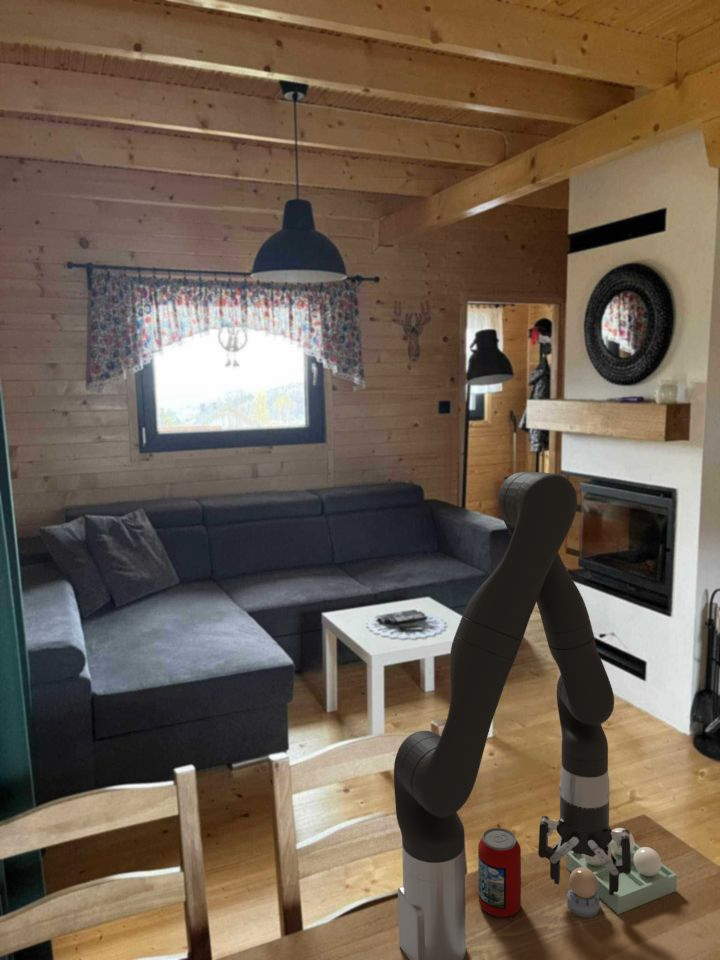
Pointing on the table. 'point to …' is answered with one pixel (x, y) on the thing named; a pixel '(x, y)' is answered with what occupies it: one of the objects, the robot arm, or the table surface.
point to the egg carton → (627, 883)
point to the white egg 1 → (592, 860)
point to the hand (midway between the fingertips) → (583, 886)
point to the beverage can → (499, 872)
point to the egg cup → (583, 905)
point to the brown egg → (583, 882)
